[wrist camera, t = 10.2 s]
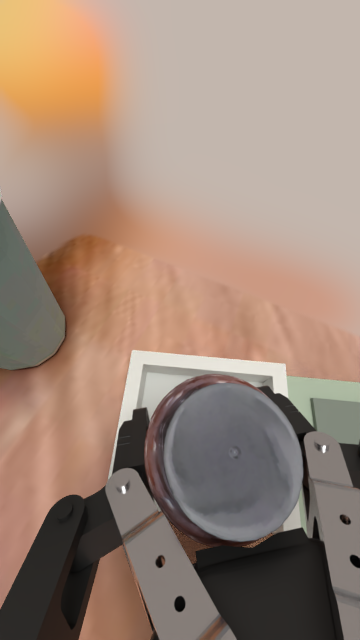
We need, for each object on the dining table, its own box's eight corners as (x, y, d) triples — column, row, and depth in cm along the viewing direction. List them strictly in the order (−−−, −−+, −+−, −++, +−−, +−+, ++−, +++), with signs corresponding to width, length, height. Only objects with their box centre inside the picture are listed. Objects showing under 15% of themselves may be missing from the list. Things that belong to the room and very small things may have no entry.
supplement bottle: (211, 384, 19) (249, 319, 9) (263, 459, 17) (395, 488, 6) (143, 431, 17) (94, 417, 7) (190, 519, 15) (213, 678, 5)
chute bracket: (112, 509, 17) (99, 523, 14) (138, 361, 21) (132, 350, 19) (282, 529, 16) (303, 547, 14) (271, 373, 21) (285, 363, 18)
